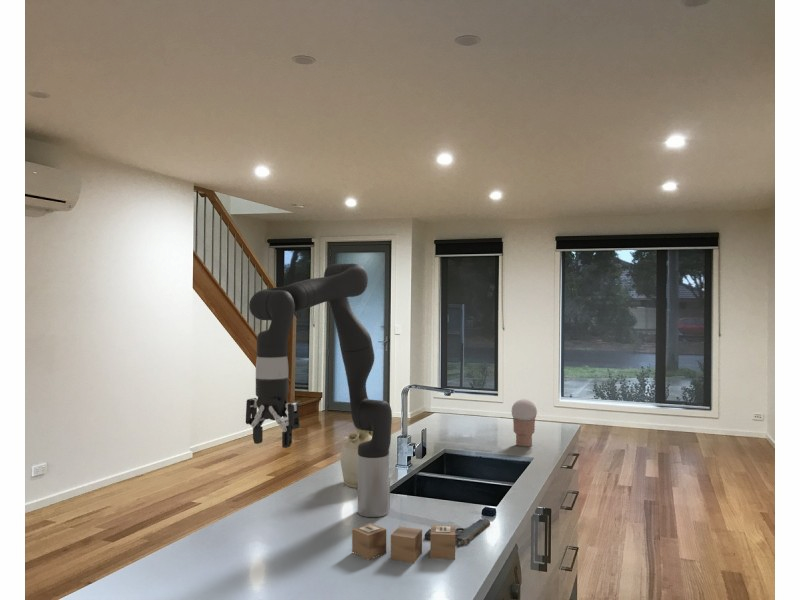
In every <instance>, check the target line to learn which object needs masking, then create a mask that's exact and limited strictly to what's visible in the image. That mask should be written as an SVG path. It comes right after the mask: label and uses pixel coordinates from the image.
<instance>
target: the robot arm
mask: <svg viewBox="0 0 800 600" xmlns="http://www.w3.org/2000/svg"><path fill="white" fill-rule="evenodd" d="M368 280H369V277H368V273H367V271H366V269H365V268H364V266H362V265H361V264H358V263H334V264H329V265H328V266H327V267H326V268H325V269H324V273H323V277H314V278H309V279H303V280H300V281H297V282H296V281H295V282H293V283H291V284H287V285H285V286H279V287H272V288H265V289H262V290H259V291H257V292H255V293H254V294H253V295H252V297H251V298H250V300H249V303H248V306H249V311H250V313H251V315H252V316H253V317H254V318H256V319H257V320H261V321H271V322H270V324H269V328H268V329H266V330H263V331H260V332H259V333H257V337H256V360H255V361H256V363H255V397H252V398H248V399H246V405H245V424H246V425H250V426H251V427H252V439H253V440H252V441H253V443H254V444H256V445H259V444H262V443H263V441H264V440H263V439H264V438H263V436H264V435H263V432H264V431H263V426H262V425H263V423H264V422H265V421H266V420H271V421H275V422H276V424H278V425H279V426H280V428H281V430H282V433H281V435H282V436H281V437H282V438H281V445H282V446H281V447H282V448H283V449H287V448H288V449H289V448H290V447H291V446H292V443H293V430H296V429H299V428H300V411H299V410H300V407H299V403H298V402H297V401H296V402H295V401H294V402H288V400H287V398H288V395H289V360H288V338H289V334H290V331H291V327H292V324H293V323H292V322H293V319H294V315H295V313H297V312H301V311H304V310H306V309H309V308H313V307H315V306H317V305H320V304H323V303H326V302H329V306H330V309H331V313H332V315H333V319H334V323H335V328H336V332H337V337H338V341H339V348H340V352H341V357H342V362H343V366H344V370H345V377H346V380H347V386H348V394H349V395H348V396H349V404H350V414H351V419H352V424H353V423H354V425H355V427H356V428H358V429H360V430H365V431H373V434H372V439H371V440H370V441H366V442H363V443H361V444H359V446H358V488H357V514H358V515H360V516H362V517H366V518H378V517H380V518H381V517H384V516H387V515H388V514H389V512H390V509H391V478H390V477H389V476H390V461H389V460H390V457H389V456H390V446H391V442H392V441H391V439H392V422H393V421H392V420H393V419H392V418H393V413H392V407H391V405H390V403H389V402H388V401H386V400H381V399H380V400H379V399H377V400H376V399H369V396H368V393H367V380H368V378H369V376H370V374H371V371H372V369H373V367H374V363H375V352H374V345H373V341H372V337H371V335H370V332H369V331H368V329H367V328H366V327H365V326H364V324H363V323H362V322H361V321H360V319H359V318H358V317H357V316H356V314H355V312H354V311H353V310H352V306H351V304H350V301H349V298H354V297H359V296H361V295H362V294H363V293H365V291H366V289H367V287H368V283H369V281H368Z"/></svg>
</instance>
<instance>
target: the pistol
mask: <svg viewBox="0 0 800 600" xmlns="http://www.w3.org/2000/svg"><path fill="white" fill-rule="evenodd" d="M490 525H491V521H490V519H486V518H483V519H481V518H480V519H478V520H477V521H476V522H473V523H472V524H470V525H469V526H467V527H465V528H464V527H457V528H455V544H457V547H460V546H461V545H463V546H466V545H469V544H470V542H471V541H472V540H474V539H475V538H476V537H477V536H478V535H480V534H481V533H482V532H483V531H484V530H486V529H487V528H488V527H489V526H490ZM430 534H431V528H429V529H427V531H426V532H425V533H424V540H430Z"/></svg>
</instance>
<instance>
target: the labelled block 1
mask: <svg viewBox="0 0 800 600" xmlns="http://www.w3.org/2000/svg"><path fill="white" fill-rule="evenodd" d="M351 532H352V533H351V534H352V535H351V540H352V541H351V547H352V549H351V553H352V552H354V553H356V554H358V555H360V556H362V557H364V558H363V559H365V558H367V559H370V558H372V559H374V558H373V557H375V558H377V557H379V556H378V555H380V556H382V555H385V554H387V528H384V527H382V526H379V525H376V524H374V523H371V522H369V523H366V524H362V525H360V526H357V527H354V528H352V529H351ZM354 553H353V554H354ZM384 553H385V554H384ZM356 554H355V555H356ZM381 554H382V555H381ZM358 555H357V556H358ZM360 556H359V557H360ZM376 556H377V557H376ZM362 557H361V558H362ZM367 559H366V560H367ZM370 560H371V559H370Z"/></svg>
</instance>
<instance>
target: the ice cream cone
mask: <svg viewBox="0 0 800 600" xmlns="http://www.w3.org/2000/svg"><path fill="white" fill-rule="evenodd" d="M511 415H512V422H513V433H515V437H516V438H515V444H516V446H518V447H531V446H533V435H534V433H535V430H536V429H535V427H536V426H535V424H536V418H537V415H538V410H537V407H536V405H535V403H534V402H533V401H531V400H529V399H527V398H521V399H518V400H516V401H515V402H514V403H513V405H512V407H511Z"/></svg>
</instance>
